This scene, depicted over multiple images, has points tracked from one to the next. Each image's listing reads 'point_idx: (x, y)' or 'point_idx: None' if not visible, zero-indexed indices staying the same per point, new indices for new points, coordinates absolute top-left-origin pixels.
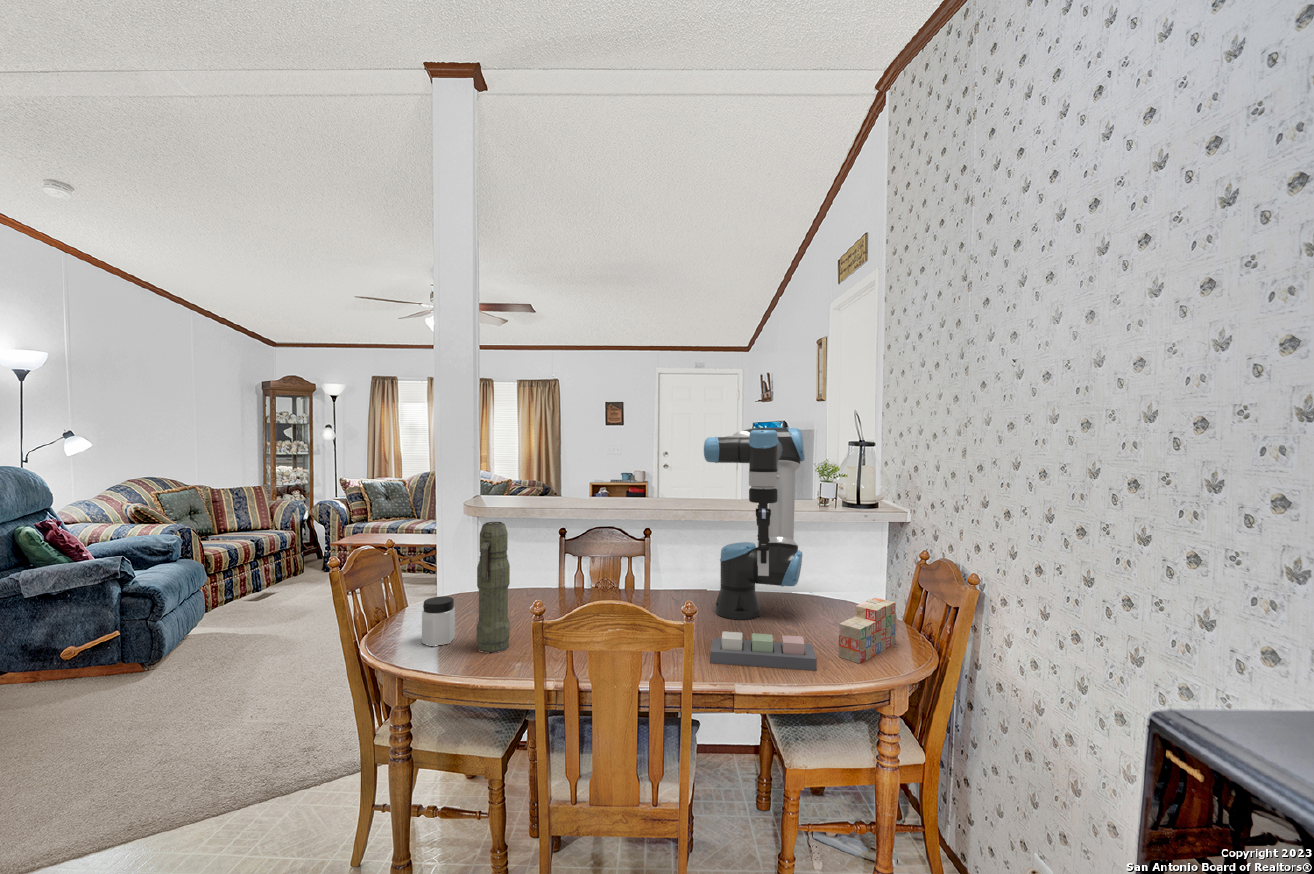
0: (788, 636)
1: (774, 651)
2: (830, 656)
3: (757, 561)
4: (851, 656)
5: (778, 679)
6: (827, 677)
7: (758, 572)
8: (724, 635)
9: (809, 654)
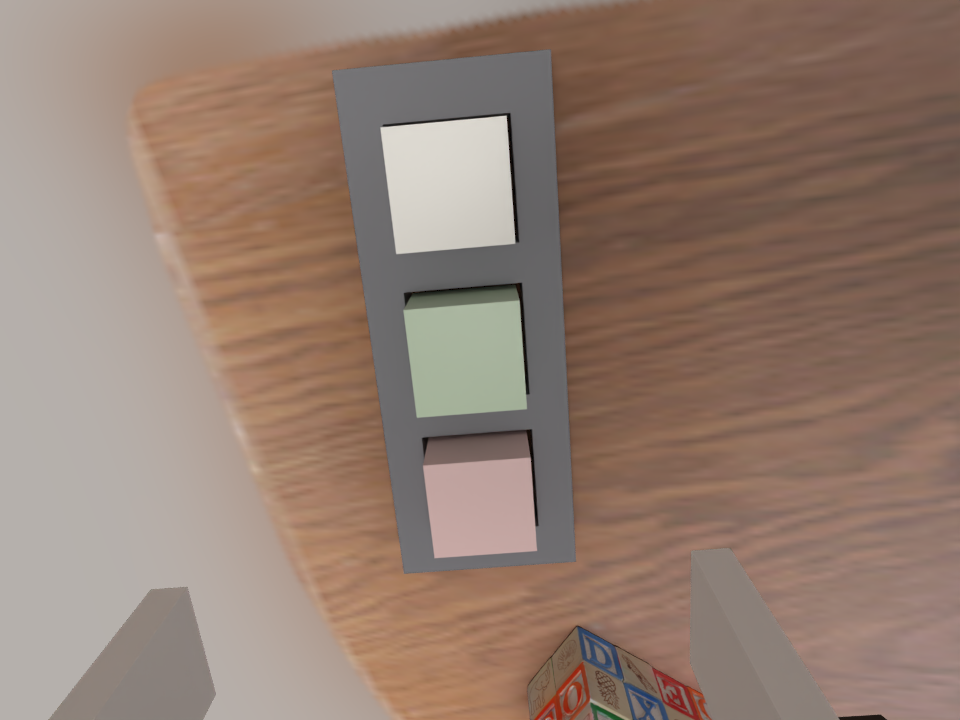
0: (518, 488)
1: None
2: (575, 596)
3: (740, 584)
4: (546, 677)
5: (273, 407)
6: (359, 577)
7: (129, 621)
8: (437, 138)
9: None
